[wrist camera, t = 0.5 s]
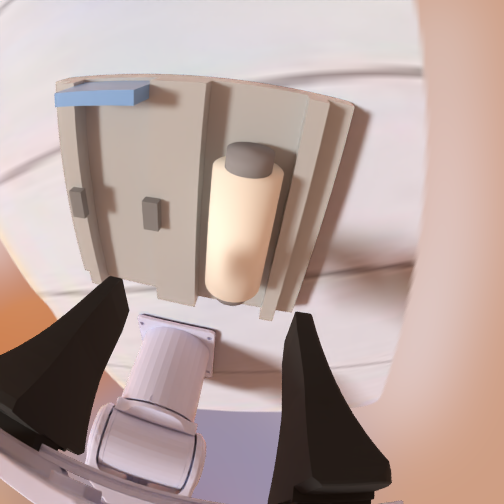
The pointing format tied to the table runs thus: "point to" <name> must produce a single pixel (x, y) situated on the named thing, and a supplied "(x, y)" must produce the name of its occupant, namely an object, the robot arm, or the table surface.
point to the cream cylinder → (241, 220)
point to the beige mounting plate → (191, 174)
